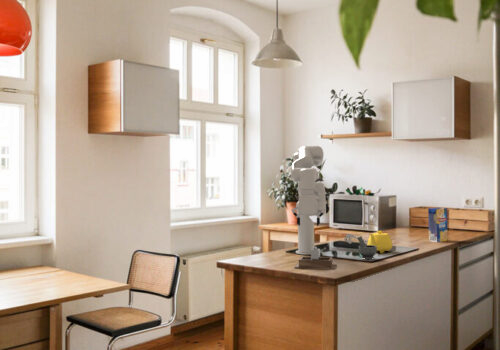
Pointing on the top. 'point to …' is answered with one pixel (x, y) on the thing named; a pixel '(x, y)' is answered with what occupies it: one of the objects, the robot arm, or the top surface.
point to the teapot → (380, 241)
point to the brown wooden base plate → (315, 263)
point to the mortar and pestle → (366, 249)
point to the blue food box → (437, 224)
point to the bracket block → (315, 254)
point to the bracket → (351, 239)
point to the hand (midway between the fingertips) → (308, 225)
